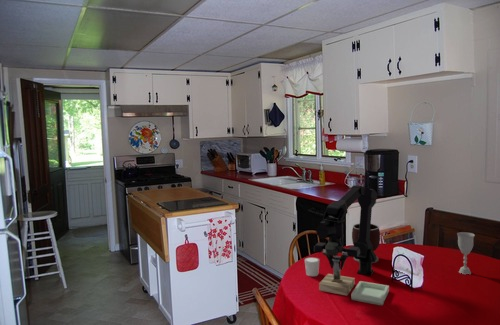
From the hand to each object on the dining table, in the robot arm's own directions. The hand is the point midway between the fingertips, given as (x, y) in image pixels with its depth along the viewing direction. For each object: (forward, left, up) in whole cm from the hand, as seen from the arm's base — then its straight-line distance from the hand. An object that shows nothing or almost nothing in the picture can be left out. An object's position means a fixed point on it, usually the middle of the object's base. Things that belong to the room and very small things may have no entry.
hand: (336, 268), depth 170 cm
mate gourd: (-41, +3, -9) cm, 42 cm away
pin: (0, 0, -4) cm, 4 cm away
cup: (-10, -15, -9) cm, 20 cm away
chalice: (-40, +48, -8) cm, 63 cm away
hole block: (0, 0, -8) cm, 8 cm away
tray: (+2, +15, -8) cm, 17 cm away
